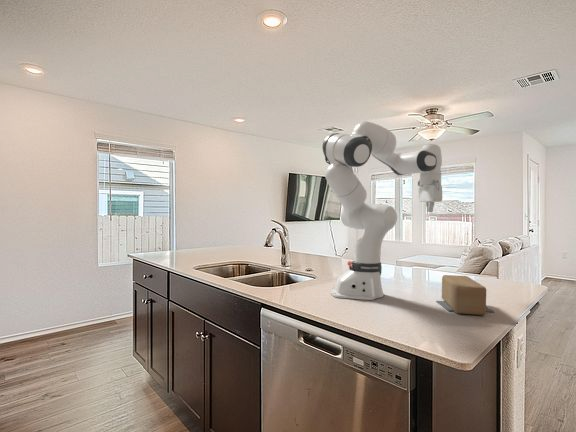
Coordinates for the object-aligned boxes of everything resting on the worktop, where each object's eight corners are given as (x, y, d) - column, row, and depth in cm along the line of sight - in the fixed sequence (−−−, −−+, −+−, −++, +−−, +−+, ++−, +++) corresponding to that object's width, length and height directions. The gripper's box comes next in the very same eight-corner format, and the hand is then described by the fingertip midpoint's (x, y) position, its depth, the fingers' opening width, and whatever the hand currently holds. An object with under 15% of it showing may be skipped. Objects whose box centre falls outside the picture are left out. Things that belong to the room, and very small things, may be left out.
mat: (449, 311, 121) (449, 310, 121) (436, 301, 133) (436, 300, 133) (494, 312, 120) (494, 311, 120) (477, 302, 132) (477, 301, 132)
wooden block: (467, 300, 134) (486, 316, 114) (441, 298, 136) (455, 314, 116) (468, 275, 134) (487, 287, 114) (441, 274, 136) (456, 285, 116)
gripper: (446, 179, 138) (446, 212, 139) (429, 182, 159) (429, 211, 159) (431, 179, 139) (430, 212, 139) (416, 182, 159) (415, 211, 160)
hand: (429, 212), depth 149 cm, fingers closed
